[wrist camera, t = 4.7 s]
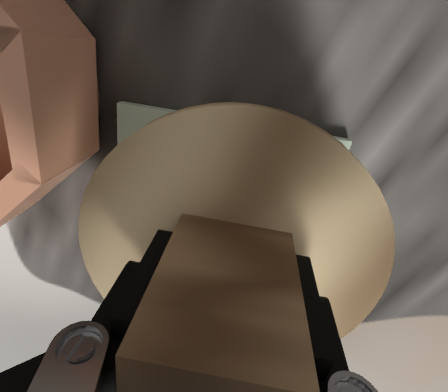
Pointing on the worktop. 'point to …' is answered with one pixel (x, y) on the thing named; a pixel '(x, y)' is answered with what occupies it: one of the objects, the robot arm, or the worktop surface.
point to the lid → (234, 246)
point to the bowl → (44, 100)
